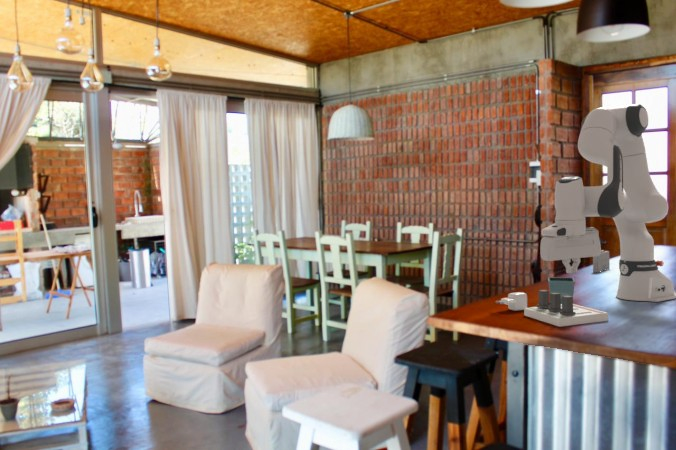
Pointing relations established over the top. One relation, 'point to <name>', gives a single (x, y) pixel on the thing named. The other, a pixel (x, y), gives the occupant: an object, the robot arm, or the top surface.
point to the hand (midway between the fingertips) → (571, 272)
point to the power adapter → (515, 301)
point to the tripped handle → (567, 306)
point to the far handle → (543, 299)
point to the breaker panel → (558, 319)
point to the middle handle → (555, 302)
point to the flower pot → (561, 286)
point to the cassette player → (601, 261)
